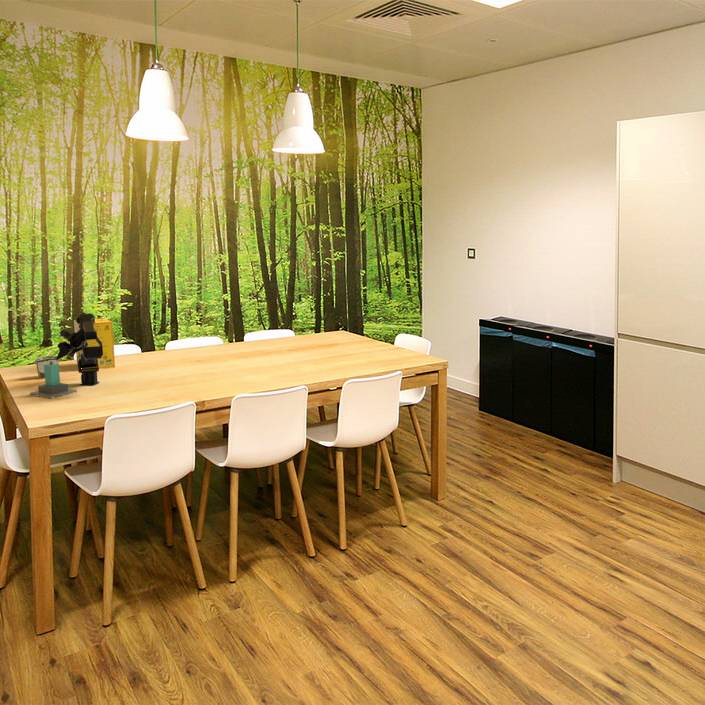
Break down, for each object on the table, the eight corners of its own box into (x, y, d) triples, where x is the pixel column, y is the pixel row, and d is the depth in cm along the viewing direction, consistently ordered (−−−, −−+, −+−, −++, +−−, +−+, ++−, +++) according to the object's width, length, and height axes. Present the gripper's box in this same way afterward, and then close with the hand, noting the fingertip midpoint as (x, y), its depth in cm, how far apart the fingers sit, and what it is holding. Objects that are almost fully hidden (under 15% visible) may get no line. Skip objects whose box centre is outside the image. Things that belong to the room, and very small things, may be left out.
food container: (54, 373, 356) (53, 354, 354) (60, 375, 352) (59, 356, 350) (31, 377, 346) (29, 358, 344) (37, 379, 342) (35, 359, 341)
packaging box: (77, 365, 377) (73, 320, 373) (107, 362, 386) (104, 318, 381) (83, 370, 364) (80, 323, 359) (115, 367, 372) (112, 321, 368)
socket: (55, 388, 324) (55, 380, 323) (76, 391, 318) (76, 383, 317) (30, 394, 312) (29, 386, 311) (51, 398, 306) (50, 389, 305)
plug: (54, 389, 318) (51, 359, 315) (60, 390, 316) (58, 360, 313) (45, 391, 314) (43, 361, 311) (52, 392, 312) (50, 362, 309)
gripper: (80, 320, 340) (61, 341, 344) (59, 325, 322) (39, 348, 326) (96, 336, 341) (77, 357, 344) (76, 342, 323) (56, 365, 326)
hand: (62, 356), depth 335 cm, fingers open, 9 cm apart
